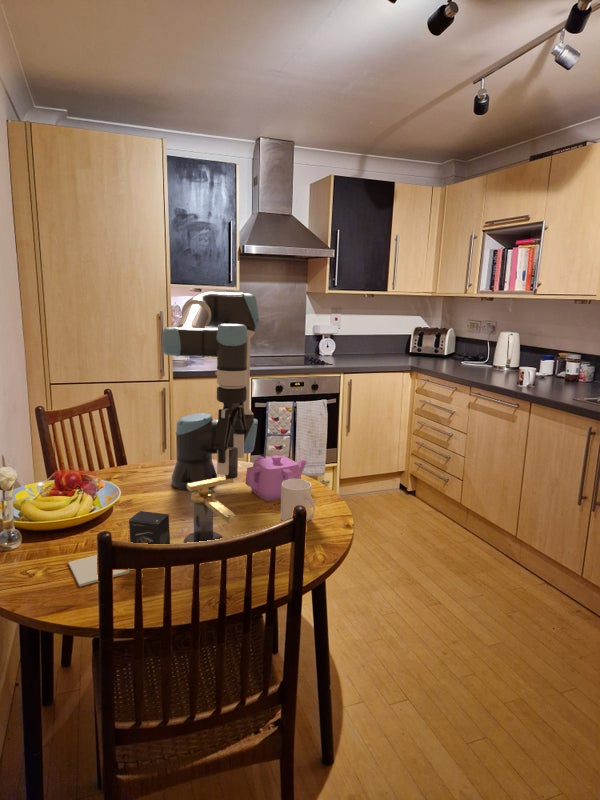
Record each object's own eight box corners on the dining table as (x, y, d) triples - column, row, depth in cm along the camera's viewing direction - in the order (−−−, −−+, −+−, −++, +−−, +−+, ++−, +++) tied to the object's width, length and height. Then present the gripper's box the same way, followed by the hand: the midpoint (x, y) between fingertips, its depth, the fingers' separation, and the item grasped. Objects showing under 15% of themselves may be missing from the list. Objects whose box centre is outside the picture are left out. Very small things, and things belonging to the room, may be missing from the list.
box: (171, 553, 128) (170, 513, 126) (160, 565, 123) (159, 523, 121) (141, 549, 130) (140, 509, 128) (129, 560, 125) (128, 518, 122)
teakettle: (243, 499, 163) (243, 461, 160) (258, 480, 179) (259, 446, 177) (295, 505, 160) (296, 467, 157) (306, 485, 176) (307, 451, 173)
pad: (68, 564, 122) (68, 562, 122) (116, 552, 128) (116, 550, 128) (79, 586, 113) (79, 584, 113) (129, 572, 119) (129, 570, 119)
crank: (217, 526, 117) (217, 476, 114) (183, 497, 132) (183, 452, 129) (268, 513, 125) (269, 466, 122) (231, 487, 140) (231, 445, 137)
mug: (302, 532, 142) (303, 496, 140) (274, 517, 151) (275, 482, 148) (324, 523, 148) (326, 488, 146) (296, 509, 156) (297, 476, 154)
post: (177, 539, 136) (177, 496, 133) (212, 530, 141) (212, 489, 139) (193, 555, 128) (193, 510, 125) (229, 545, 133) (229, 502, 131)
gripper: (232, 376, 143) (231, 449, 148) (199, 394, 119) (200, 480, 124) (258, 378, 142) (257, 452, 146) (231, 396, 118) (230, 483, 122)
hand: (231, 465), depth 135 cm, fingers open, 13 cm apart
